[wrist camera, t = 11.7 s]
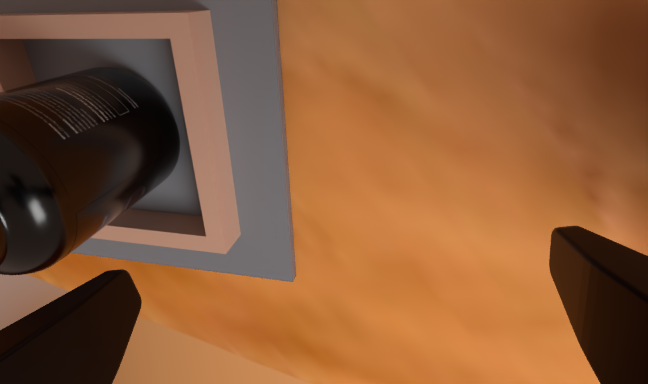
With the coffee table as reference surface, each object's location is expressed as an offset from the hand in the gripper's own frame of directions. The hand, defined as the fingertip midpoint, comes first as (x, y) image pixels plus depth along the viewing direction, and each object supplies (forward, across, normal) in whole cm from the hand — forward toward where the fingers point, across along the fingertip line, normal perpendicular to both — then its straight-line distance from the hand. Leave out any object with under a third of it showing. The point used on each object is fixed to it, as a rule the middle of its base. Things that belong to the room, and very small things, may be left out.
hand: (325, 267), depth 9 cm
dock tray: (+14, +12, 0) cm, 19 cm away
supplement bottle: (+14, +12, 0) cm, 18 cm away
